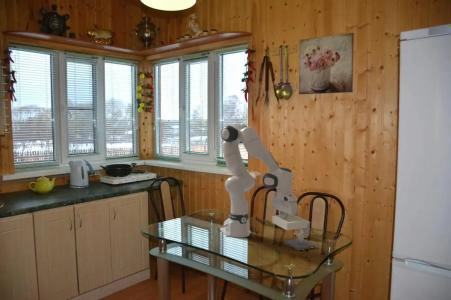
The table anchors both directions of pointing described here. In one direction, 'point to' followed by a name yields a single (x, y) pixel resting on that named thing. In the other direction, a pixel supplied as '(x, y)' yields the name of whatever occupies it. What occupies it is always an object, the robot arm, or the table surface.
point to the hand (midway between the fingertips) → (283, 219)
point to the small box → (303, 230)
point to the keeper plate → (298, 246)
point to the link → (289, 222)
